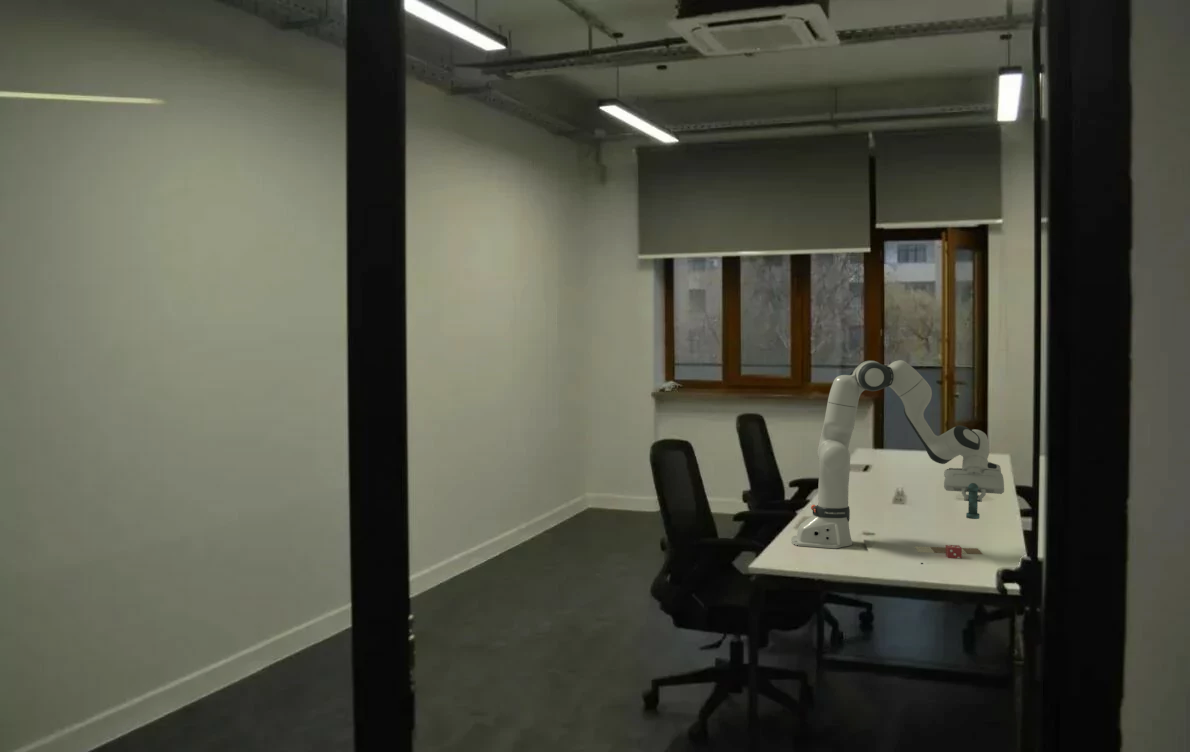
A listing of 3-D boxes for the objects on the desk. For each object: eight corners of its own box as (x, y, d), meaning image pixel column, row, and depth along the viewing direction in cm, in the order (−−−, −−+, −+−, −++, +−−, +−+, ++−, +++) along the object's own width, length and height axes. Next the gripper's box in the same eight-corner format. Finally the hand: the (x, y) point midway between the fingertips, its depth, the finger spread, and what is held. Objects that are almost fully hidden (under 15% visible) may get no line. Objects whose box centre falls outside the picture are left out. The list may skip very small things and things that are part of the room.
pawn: (967, 518, 341) (968, 483, 340) (965, 516, 345) (965, 481, 345) (980, 519, 340) (981, 484, 340) (977, 516, 345) (978, 482, 344)
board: (917, 555, 342) (917, 552, 342) (912, 548, 352) (912, 546, 352) (985, 557, 338) (985, 554, 338) (978, 550, 348) (978, 548, 348)
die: (948, 560, 334) (948, 547, 333) (945, 557, 338) (945, 544, 338) (961, 561, 333) (961, 548, 333) (958, 558, 337) (959, 545, 337)
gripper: (944, 462, 353) (941, 493, 344) (1004, 465, 344) (1003, 497, 336) (945, 473, 357) (942, 503, 348) (1004, 476, 348) (1003, 507, 340)
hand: (972, 500), depth 342 cm, fingers closed on pawn, 3 cm apart
